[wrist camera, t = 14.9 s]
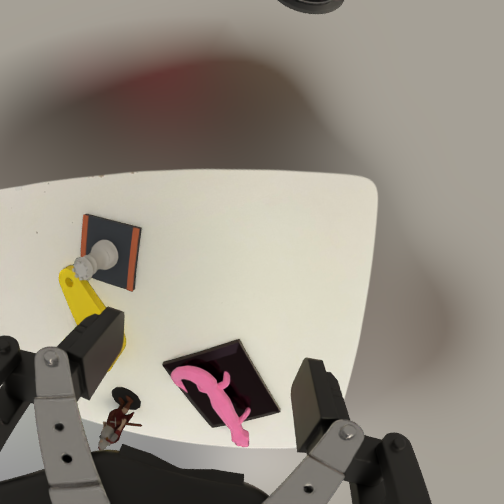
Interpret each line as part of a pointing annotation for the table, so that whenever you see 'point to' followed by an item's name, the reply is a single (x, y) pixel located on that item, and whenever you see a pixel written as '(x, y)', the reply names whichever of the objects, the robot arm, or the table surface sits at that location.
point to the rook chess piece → (96, 260)
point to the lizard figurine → (223, 387)
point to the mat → (125, 243)
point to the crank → (81, 298)
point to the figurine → (119, 416)
